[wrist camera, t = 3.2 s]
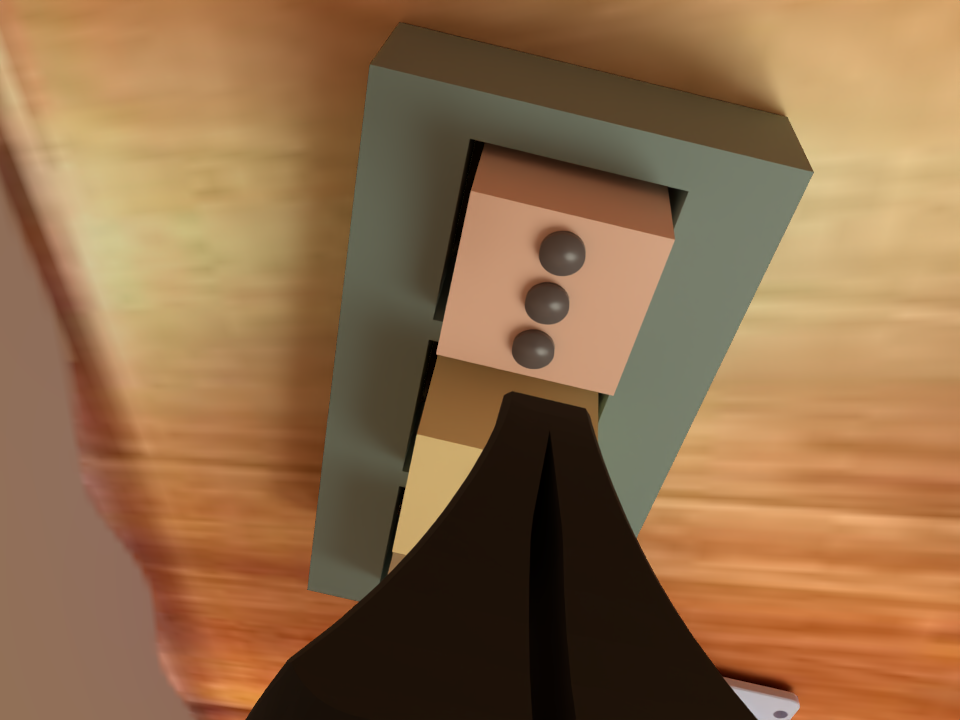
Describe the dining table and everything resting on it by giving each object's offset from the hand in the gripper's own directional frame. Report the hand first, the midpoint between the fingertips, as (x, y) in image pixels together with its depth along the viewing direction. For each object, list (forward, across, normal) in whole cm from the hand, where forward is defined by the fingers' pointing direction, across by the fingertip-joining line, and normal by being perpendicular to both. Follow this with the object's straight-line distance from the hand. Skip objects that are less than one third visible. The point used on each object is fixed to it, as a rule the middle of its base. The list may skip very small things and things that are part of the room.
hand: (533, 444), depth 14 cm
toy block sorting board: (+9, 0, +5) cm, 10 cm away
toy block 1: (+9, 0, 0) cm, 9 cm away
